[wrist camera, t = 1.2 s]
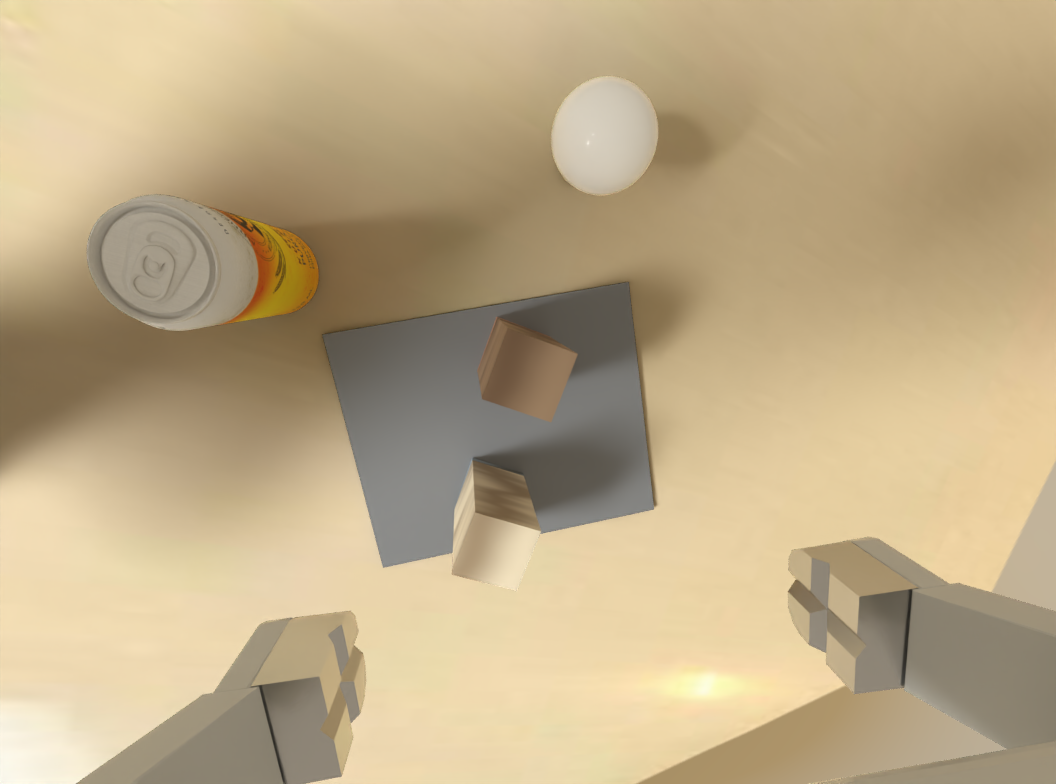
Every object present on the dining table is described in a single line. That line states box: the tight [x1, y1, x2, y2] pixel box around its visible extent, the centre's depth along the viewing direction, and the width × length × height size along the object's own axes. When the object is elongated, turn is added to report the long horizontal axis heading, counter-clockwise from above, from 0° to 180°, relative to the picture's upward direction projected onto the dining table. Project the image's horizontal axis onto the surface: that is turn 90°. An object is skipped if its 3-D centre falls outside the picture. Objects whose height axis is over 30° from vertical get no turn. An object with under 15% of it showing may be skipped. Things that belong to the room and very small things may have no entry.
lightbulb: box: [551, 76, 658, 196], centre depth 32 cm, size 6×6×11 cm
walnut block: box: [477, 317, 578, 422], centre depth 34 cm, size 4×4×10 cm
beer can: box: [87, 195, 319, 331], centre depth 29 cm, size 6×6×15 cm
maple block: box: [452, 458, 541, 591], centre depth 36 cm, size 4×4×10 cm
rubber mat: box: [323, 282, 654, 568], centre depth 41 cm, size 24×20×1 cm
